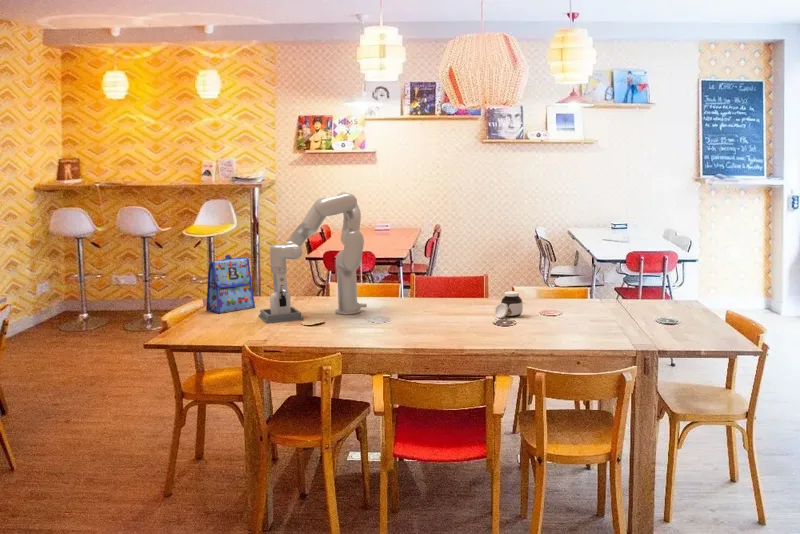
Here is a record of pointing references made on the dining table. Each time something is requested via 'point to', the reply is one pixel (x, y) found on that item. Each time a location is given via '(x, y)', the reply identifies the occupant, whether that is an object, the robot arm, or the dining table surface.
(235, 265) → the lunch bag
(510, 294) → the spread jar
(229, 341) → the dining table surface
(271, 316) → the tray
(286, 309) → the photo printer
